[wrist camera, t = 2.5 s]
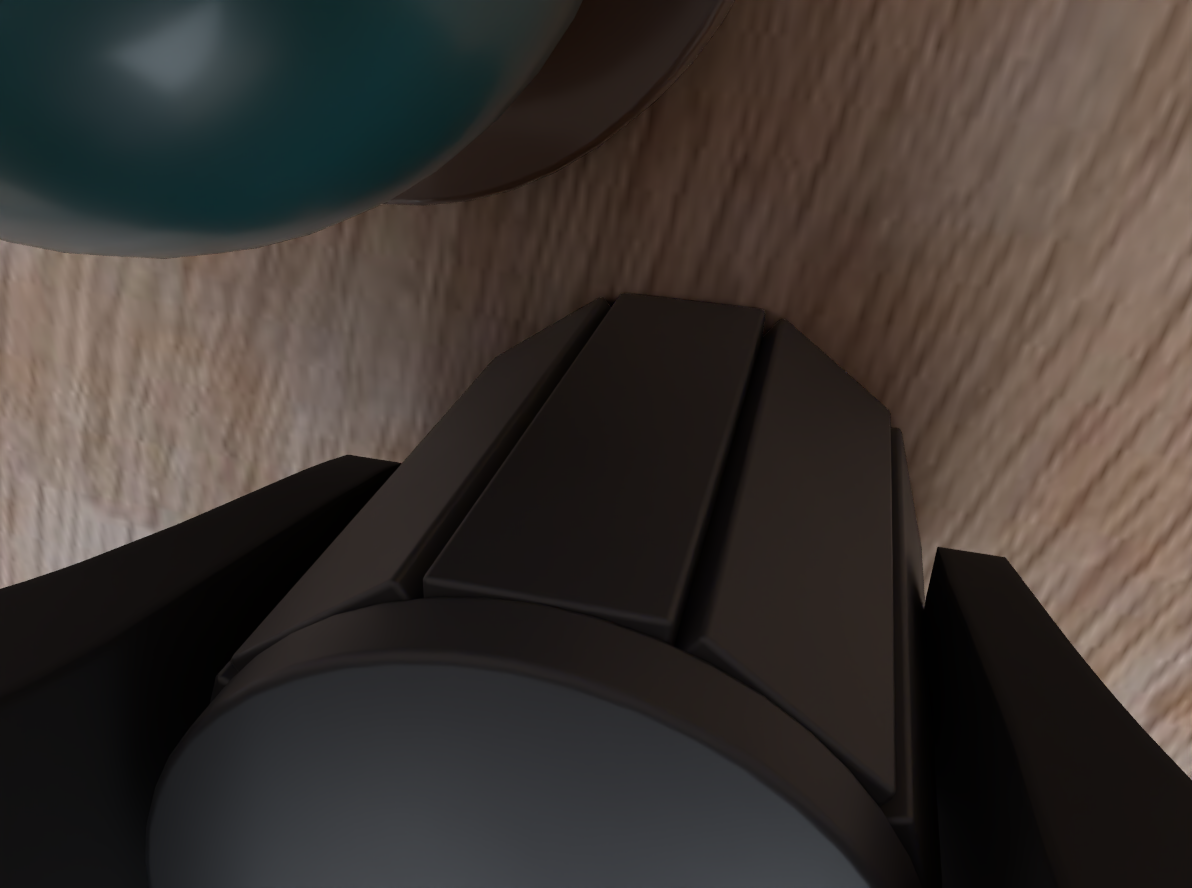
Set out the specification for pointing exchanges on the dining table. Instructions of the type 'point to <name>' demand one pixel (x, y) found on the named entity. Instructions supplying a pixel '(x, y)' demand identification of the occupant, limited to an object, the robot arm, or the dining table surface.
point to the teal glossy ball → (306, 109)
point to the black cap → (593, 641)
